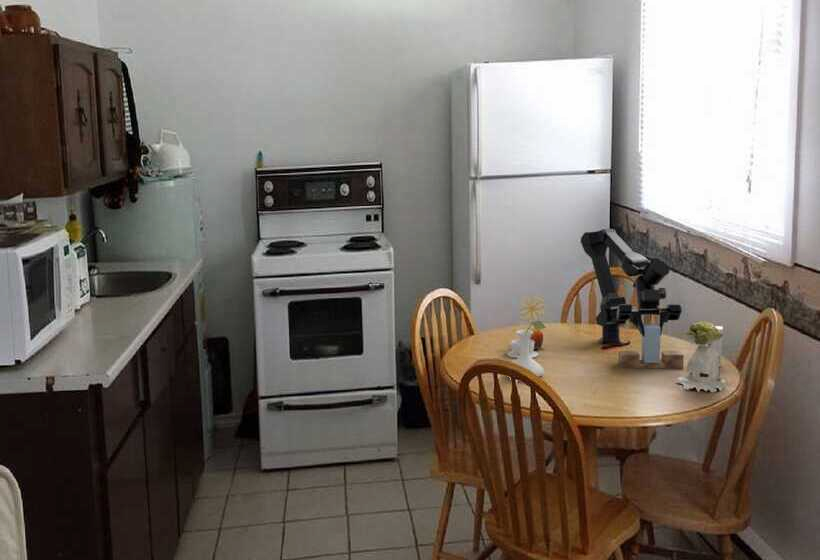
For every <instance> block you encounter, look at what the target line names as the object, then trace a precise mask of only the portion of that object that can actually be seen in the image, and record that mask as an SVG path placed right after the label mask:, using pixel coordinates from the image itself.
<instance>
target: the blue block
mask: <svg viewBox="0 0 820 560" xmlns="http://www.w3.org/2000/svg"><path fill="white" fill-rule="evenodd" d="M643 327H644V334H645V336H644V337H643V336H642V335H641V355H640V356H641V357H640V358H641V359H642V360H643V362H644V363H659V362H660V359H661V357H660V356H661V355H660V354H661V336H660V331H661V328H660V326H659V325H658V323H643Z"/></svg>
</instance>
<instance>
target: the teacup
mask: <svg viewBox="0 0 820 560" xmlns="http://www.w3.org/2000/svg"><path fill="white" fill-rule="evenodd" d="M510 346H511V347H510ZM507 349H508V350H510V351H508V352H507V356H508V357H511V358H514V359H518V358H519V357H517V356H520V354H521V342H520V339H519V338H517V339H516V338H515V339H513V340H511V342H509V343H508V344H507ZM533 349H534V341H533V340H529V355H530V357H531V358H532V359H533V358H535V357H538V356H539V353H538V352H537V351H535V350H533ZM515 354H516V355H517V356H516V355H515Z"/></svg>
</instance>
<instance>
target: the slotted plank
mask: <svg viewBox="0 0 820 560" xmlns="http://www.w3.org/2000/svg"><path fill="white" fill-rule="evenodd" d="M640 356H641V355H640V354H639V352H638V350H618V363H617V364H618V365H619V367H620V369H628V368H629V369H650V368H651V369H657V368H658V369H661V368H662V369H663V368H664V369H668V368H669V369H670V368H671V369H679V368H680V369H683V368H684V357H685V355H684V354H683V352H682V351H681V350H661V355H660V356H661V357H660V362H659V363H644V362H643V360H642V359H640V358H641V357H640Z"/></svg>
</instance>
